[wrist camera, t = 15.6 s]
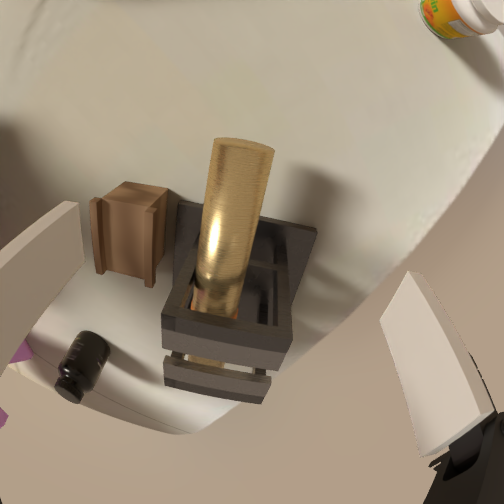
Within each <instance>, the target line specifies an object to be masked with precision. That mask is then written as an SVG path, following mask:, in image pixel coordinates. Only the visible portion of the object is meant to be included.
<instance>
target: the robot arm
mask: <svg viewBox="0 0 504 504" xmlns="http://www.w3.org/2000/svg"><path fill="white" fill-rule="evenodd" d="M84 262H85V256H84V249H83V241H82V232H81V222H80V210H79V203H76V202H71V201H63V202H62V203H60V204H59V205H58V206H56V207H55V208H53V209H52V210H51V211H49V212H48V213H46V214H45V215H44V216H42V217H41V218H40V219H38V220H37V221H36V222H34V223H33V224H32V225H31V226H29V227H28V228H27V229H25V230H24V231H23V232H22V233H20V234H19V235H18V236H17V237H16V238H14V239H13V240H12V241H11V242H10V243H8V244H7V245H6V246H5V247H4V248H3V249H2V250H0V377H1V375H2V373H3V371H4V370H5V368H6V367H7V365H8V364H9V362H10V360H11V359H12V357H13V356H14V354H15V353H16V351H17V349H18V348H19V346H20V345H21V343H22V342H23V341H24V339H25V338H26V336H27V335H28V333H29V332H30V330H31V329H32V328H33V326H34V325H35V323H36V322H37V321H38V319H39V318H40V317H41V315H42V314H43V313H44V311H45V310H46V309H47V307H48V306H49V305H50V304H51V302H52V301H53V300H54V298H55V297H56V296H57V295H58V293H59V292H60V291H61V290H62V288H63V287H64V286H65V285H66V284H67V282H68V281H69V280H70V279H71V278H72V276H73V275H74V274H75V273H76V272H77V271H78V269H79V268H80V267H81V266H82V265H83V264H84ZM379 322H380V324H381V327H382V330H383V332H384V335H385V338H386V341H387V343H388V346H389V349H390V352H391V355H392V358H393V361H394V364H395V367H396V370H397V373H398V376H399V379H400V383H401V386H402V389H403V393H404V396H405V399H406V403H407V406H408V410H409V413H410V417H411V421H412V425H413V429H414V433H415V437H416V441H417V445H418V450H419V455H420V457H424V456H428V455H433V454H436V453H438V452H439V451H441V450H442V449H444V448H445V447H447V446H449V449H450V450H449V451H448V452H447V453H445V454H443V455H442V456H440V457H438V458H437V459H435V460H433V461H432V462H431V463H430V465H429V467H432V466H434V465H436V464H438V463H439V462H441V464H439V465H438V466H436V467H435V468H434V470H435V471H437V474H436V476H435V479H434V481H433V483H432V486H431V488H430V490H429V492H428V494H427V497H426V499H425V500H424V502H423V504H504V412H500V413H499V414H498V413H497V411H496V409H495V406H494V404H493V401H492V399H491V396H490V394H489V392H488V389H487V387H486V385H485V383H484V380H483V379H481V378H482V376H481V374H480V372H479V370H477V365H476V363H475V361H474V359H473V357H472V356H471V355H470V353H469V352H468V351H467V349H466V347H465V345H464V343H463V341H462V339H461V338H460V336H459V334H458V332H457V330H456V328H455V327H454V325H453V323H452V321H451V320H450V318H449V316H448V314H447V313H446V311H445V309H444V308H443V307H442V305H441V303H440V301H439V300H438V298H437V296H436V295H435V293H434V292H433V290H432V289H431V287H430V286H429V284H428V283H427V281H426V280H425V278H424V276H423V275H422V274H421V273H417V272H413V271H409V270H408V271H407V273H406V275H405V277H404V279H403V280H402V282H401V284H400V286H399V288H398V289H397V291H396V293H395V295H394V297H393V298H392V300H391V302H390V303H389V305H388V307H387V308H386V310H385V312H384V313H383V315H382V317H381V318H380V320H379ZM0 504H2V502H1V499H0Z"/></svg>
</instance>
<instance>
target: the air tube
mask: <svg viewBox="0 0 504 504" xmlns="http://www.w3.org/2000/svg"><path fill="white" fill-rule="evenodd" d="M274 152H275V150H274V149H273V148H271V147H269V146H266V145H264V144H260V143H257V142H253V141H248V140H243V139H237V138H215V139H214V142H213V148H212V154H211V160H210V166H209V173H208V179H207V186H206V192H205V199H204V206H203V214H202V221H201V229H200V237H199V245H198V253H197V262H196V272H195V281H194V291H193V299H192V302H191V310H195V311H200V312H204V313H209V314H213V315H218V316H223V317H228V318H233V319H236V318H237V314H238V305H239V301H240V296H241V292H242V288H243V284H244V279H245V275H246V271H247V267H248V262H249V258H250V254H251V250H252V245H253V241H254V237H255V233H256V229H257V224H258V220H259V216H260V212H261V207H262V203H263V199H264V195H265V190H266V186H267V182H268V178H269V173H270V169H271V165H272V161H273V157H274ZM188 361H191V362H195V363H200V364H204V365H209V366H214V367H219V368H224V364H225V362H221V361H216V360H211V359H206V358H202V357H197V356H193V355H189V354H188Z"/></svg>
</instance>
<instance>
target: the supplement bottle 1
mask: <svg viewBox="0 0 504 504" xmlns="http://www.w3.org/2000/svg"><path fill="white" fill-rule="evenodd" d="M109 355H110V349H109V347H108V345H107V343H106V342H105V341H104V340H103V339H102V338H101V337H100V336H98V335H97V334H95V333H93V332H90V331H81V332H80V333H79V334H78V335H77V337H76V338H75V340H74V341H73V343H72V344H71V346H70V348H69V349H68V351H67V353H66V354H65V356H64V357H63V359H62V361H61V363H60V364H59V367H58V372H59V375H60V377H59V378H58V379H57V382H56V384H55V386H54V388H55V390H56V391H57V392H58V393H59V394H60V395H61V396H62V397H64V398H65V399H67V400H68V401H70V402H72V403H75V404H79V403H80V401H81V399H82V398H83V396H84V393H87V392H90V391H92V390H93V388H94V386H95V384H96V382H97V380H98V378H99V376H100V374H101V372H102V370H103V368H104V365H105V363H106V361H107V359H108V357H109Z"/></svg>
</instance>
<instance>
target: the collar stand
mask: <svg viewBox="0 0 504 504" xmlns="http://www.w3.org/2000/svg"><path fill="white" fill-rule="evenodd" d="M203 206H204V204H199V203H194V202H189V201H183V200H181V201H180V202H179V203H178V212H177V223H176V236H175V251H174V268H173V288H172V290H171V292H170V295H169V297H168V299H167V301H166V304H165V306H164V308H163V310H162V313H161V328H162V348H164V349H168V350H172V354H171V357H170V356H165V359H164V362H163V369H164V383H165V386H169V387H173V388H177V389H181V390H185V391H189V392H194V393H198V394H203V395H208V396H213V397H218V398H223V399H229V400H235V401H241V402H248V403H255V404H261V403H262V401H263V399H264V397H265V395H266V393H267V392H268V390H269V388H270V386H271V376H266V369H267V370H274V371H278V370H279V368H280V366H281V363H282V361H283V359H284V357H285V355H286V353H287V351H288V349H289V347H290V345H291V342H292V340H293V336H292V318H291V304H292V301H293V299H294V296H295V294H296V291H297V288H298V286H299V283H300V280H301V278H302V275H303V272H304V269H305V267H306V264H307V261H308V258H309V256H310V253H311V250H312V247H313V244H314V241H315V238H316V236H317V230H316V228H312V227H308V226H303V225H299V224H295V223H290V222H286V221H281V220H277V219H272V218H268V217H263V216H259V220H258V224H257V229H256V233H255V237H254V241H253V245H252V250H251V254H250V258H249V262H248V267H247V271H246V275H245V279H244V284H243V288H242V292H241V296H240V301H239V305H238V314H237V318H236V319H233V318H228V317H223V316H218V315H213V314H209V313H204V312H200V311H195V310H191V302H192V299H193V291H194V281H195V272H196V262H197V253H198V245H199V237H200V229H201V221H202V214H203ZM185 354H189V355H193V356H197V357H202V358H206V359H211V360H216V361H221V362H226V363H231V364H237V365H242V366H248V367H253V372H252V373H246V372H240V371H234V370H229V369H224V368H219V367H214V366H209V365H204V364H200V363H195V362H191V361H186V360H184V356H185Z"/></svg>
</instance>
